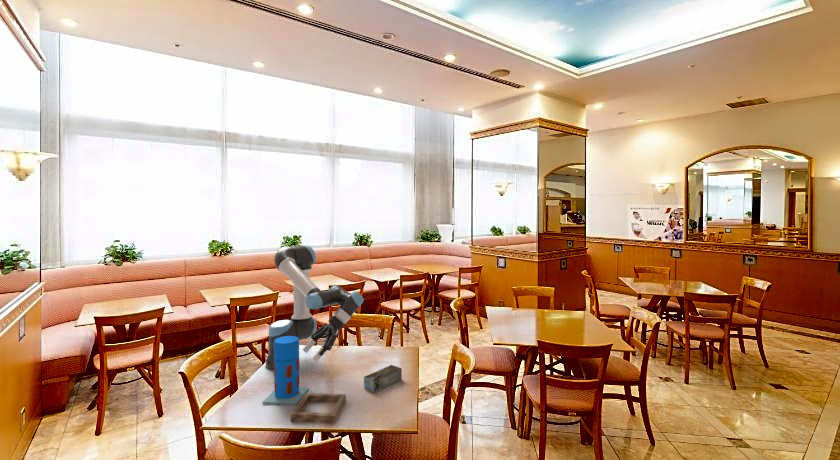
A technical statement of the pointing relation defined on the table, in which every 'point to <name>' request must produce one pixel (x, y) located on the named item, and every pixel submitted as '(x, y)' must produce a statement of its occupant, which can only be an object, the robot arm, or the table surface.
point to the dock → (318, 417)
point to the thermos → (286, 367)
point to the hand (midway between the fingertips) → (309, 356)
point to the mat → (289, 401)
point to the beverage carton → (382, 378)
